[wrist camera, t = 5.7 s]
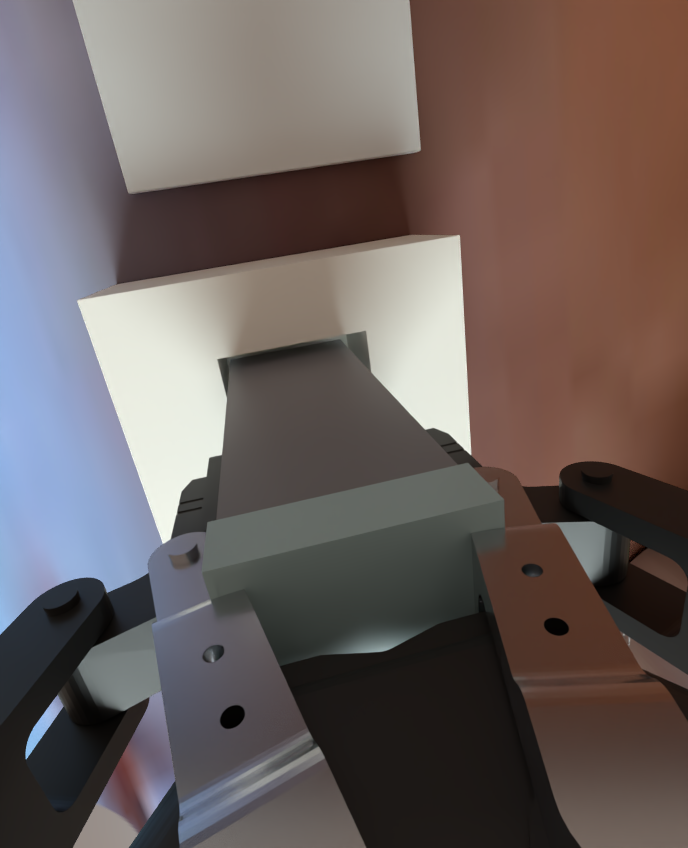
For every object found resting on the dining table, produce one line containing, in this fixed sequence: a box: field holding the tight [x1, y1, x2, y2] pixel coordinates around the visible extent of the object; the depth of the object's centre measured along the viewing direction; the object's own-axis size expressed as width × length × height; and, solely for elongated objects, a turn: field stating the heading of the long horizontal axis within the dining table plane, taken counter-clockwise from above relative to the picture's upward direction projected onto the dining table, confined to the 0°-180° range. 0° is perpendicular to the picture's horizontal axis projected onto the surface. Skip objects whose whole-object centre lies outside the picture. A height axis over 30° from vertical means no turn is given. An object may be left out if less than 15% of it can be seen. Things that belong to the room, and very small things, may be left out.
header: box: [77, 235, 471, 544], centre depth 19 cm, size 12×10×5 cm
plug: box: [202, 339, 505, 666], centre depth 13 cm, size 4×4×12 cm
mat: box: [73, 0, 421, 194], centre depth 17 cm, size 11×8×1 cm
